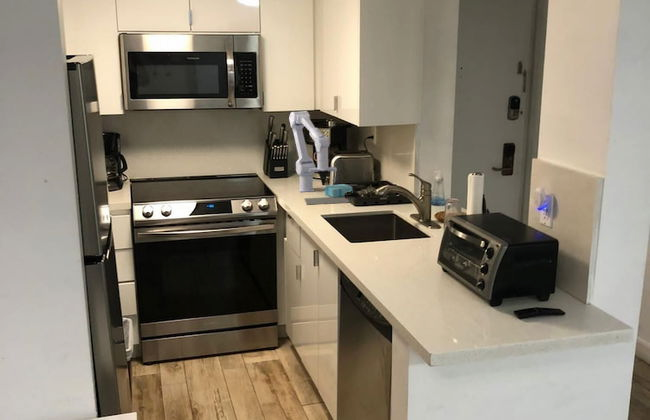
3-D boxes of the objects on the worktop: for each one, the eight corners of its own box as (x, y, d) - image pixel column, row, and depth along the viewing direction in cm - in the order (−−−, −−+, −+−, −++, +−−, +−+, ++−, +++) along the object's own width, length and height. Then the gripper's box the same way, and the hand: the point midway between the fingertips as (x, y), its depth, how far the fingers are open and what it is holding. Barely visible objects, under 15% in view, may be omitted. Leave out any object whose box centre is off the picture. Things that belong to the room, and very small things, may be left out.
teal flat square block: (333, 197, 352) (353, 195, 357) (332, 189, 351) (353, 187, 356) (324, 194, 363) (344, 191, 368) (323, 185, 362) (344, 183, 367)
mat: (304, 199, 353) (304, 198, 353) (345, 196, 355) (345, 196, 355) (306, 204, 339) (306, 204, 339) (349, 202, 342) (349, 202, 342)
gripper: (309, 161, 351) (310, 187, 354) (337, 160, 352) (337, 185, 356) (308, 159, 358) (309, 184, 361) (335, 158, 359) (336, 183, 362)
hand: (323, 184), depth 359 cm, fingers closed
